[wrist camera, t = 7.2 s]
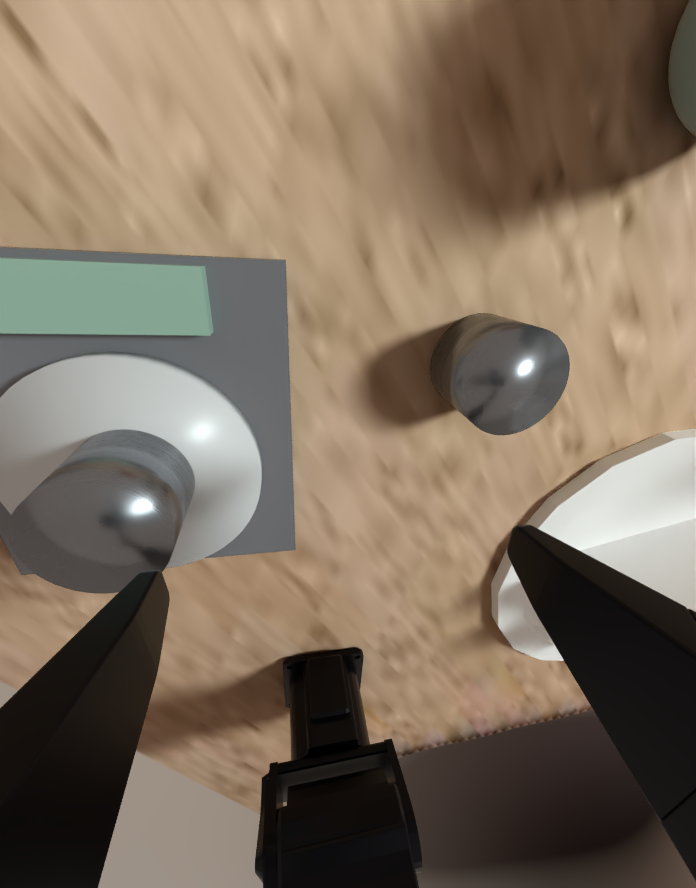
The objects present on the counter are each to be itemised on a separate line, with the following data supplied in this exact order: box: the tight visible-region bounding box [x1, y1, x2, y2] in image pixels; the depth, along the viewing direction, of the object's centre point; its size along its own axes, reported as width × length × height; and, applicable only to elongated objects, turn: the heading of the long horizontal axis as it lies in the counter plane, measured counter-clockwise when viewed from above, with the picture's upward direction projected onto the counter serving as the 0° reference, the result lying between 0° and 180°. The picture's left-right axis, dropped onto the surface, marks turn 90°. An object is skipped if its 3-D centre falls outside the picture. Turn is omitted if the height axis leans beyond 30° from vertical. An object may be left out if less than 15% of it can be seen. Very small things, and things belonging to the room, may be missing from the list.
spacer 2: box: [431, 313, 570, 435], centre depth 18 cm, size 5×5×4 cm
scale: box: [0, 247, 295, 575], centre depth 16 cm, size 15×14×3 cm
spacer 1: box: [8, 429, 195, 593], centre depth 14 cm, size 5×5×4 cm
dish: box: [491, 429, 696, 661], centre depth 26 cm, size 25×25×11 cm
